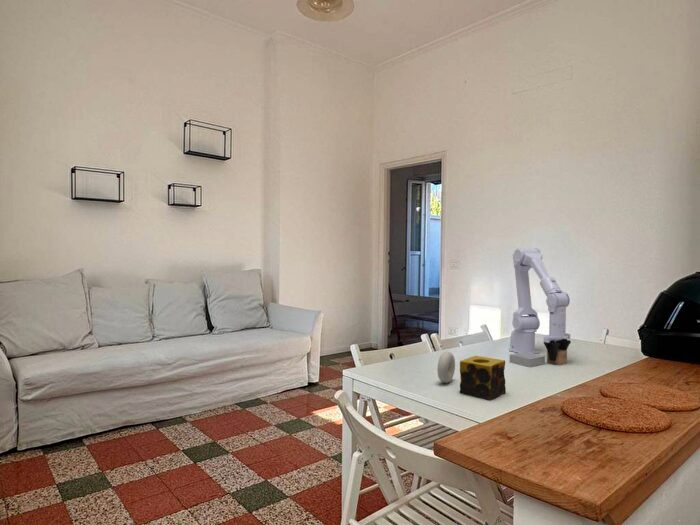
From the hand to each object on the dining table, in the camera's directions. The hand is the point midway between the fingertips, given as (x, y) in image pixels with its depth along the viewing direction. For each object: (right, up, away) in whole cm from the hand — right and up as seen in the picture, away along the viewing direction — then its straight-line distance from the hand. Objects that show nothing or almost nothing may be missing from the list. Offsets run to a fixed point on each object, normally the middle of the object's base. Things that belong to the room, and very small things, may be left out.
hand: (556, 359), depth 175 cm
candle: (-39, -2, -38) cm, 55 cm away
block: (0, -1, 0) cm, 1 cm away
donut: (-48, -2, -27) cm, 55 cm away
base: (-12, -1, 0) cm, 12 cm away
